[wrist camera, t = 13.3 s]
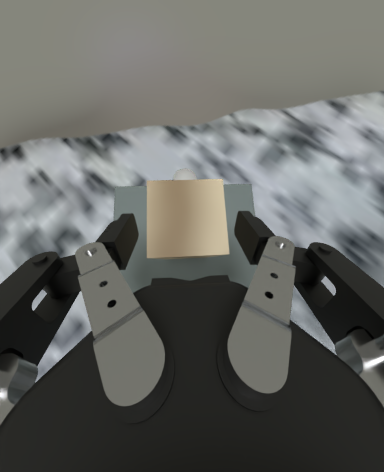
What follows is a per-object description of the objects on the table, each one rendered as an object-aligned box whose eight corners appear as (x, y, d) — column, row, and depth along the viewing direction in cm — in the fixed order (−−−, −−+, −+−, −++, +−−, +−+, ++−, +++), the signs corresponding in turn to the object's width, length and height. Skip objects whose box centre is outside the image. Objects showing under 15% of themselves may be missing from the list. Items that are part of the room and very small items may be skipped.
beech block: (205, 217, 19) (222, 179, 10) (207, 257, 18) (229, 254, 9) (165, 219, 18) (146, 180, 9) (166, 259, 18) (146, 258, 9)
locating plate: (248, 187, 21) (267, 164, 16) (260, 290, 18) (287, 302, 13) (118, 190, 20) (96, 167, 15) (114, 299, 17) (85, 314, 13)
